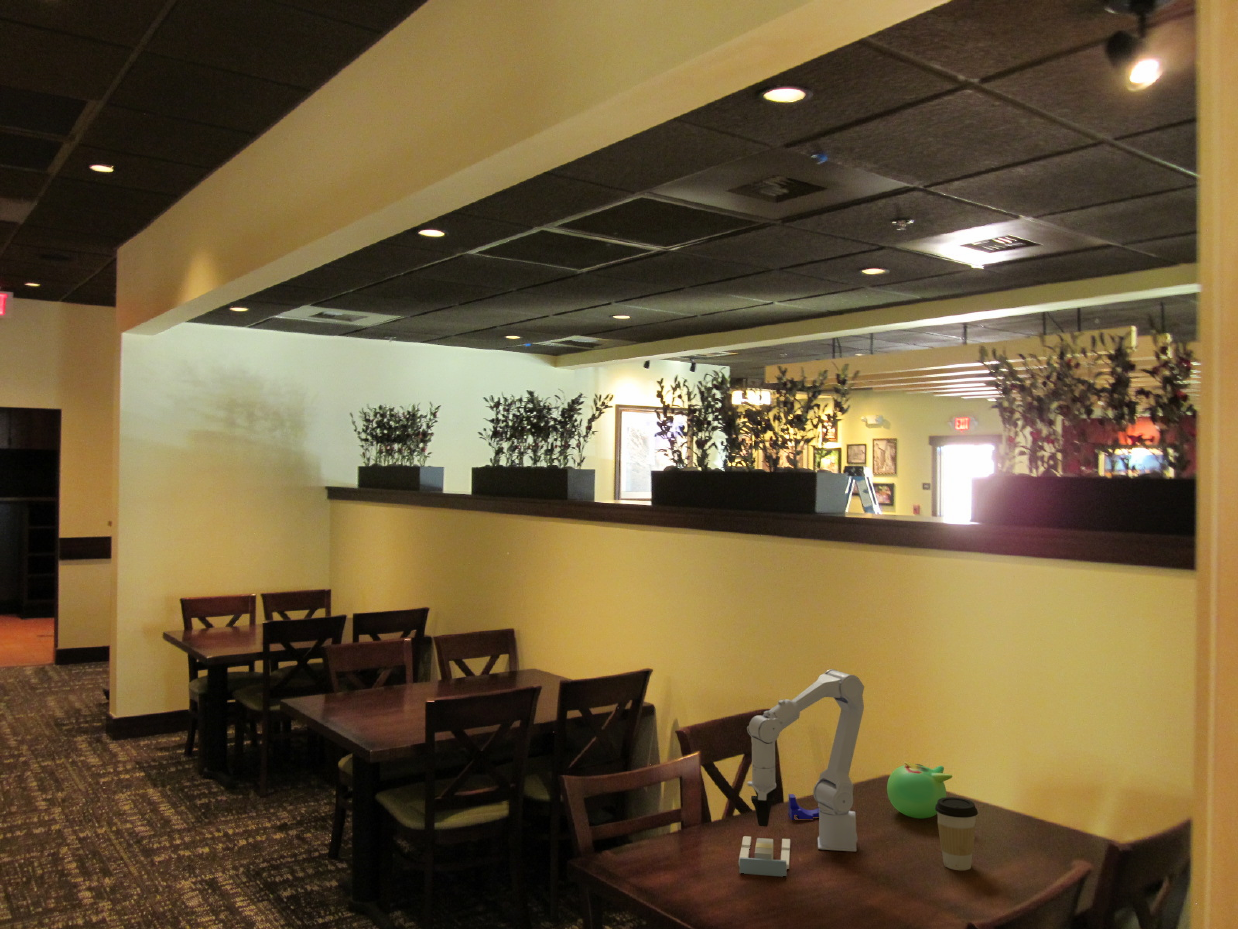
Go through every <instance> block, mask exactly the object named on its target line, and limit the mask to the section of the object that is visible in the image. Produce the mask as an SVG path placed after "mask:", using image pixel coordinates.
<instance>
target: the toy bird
mask: <svg viewBox="0 0 1238 929" xmlns="http://www.w3.org/2000/svg"><path fill="white" fill-rule="evenodd" d="M903 763H904V764H903V765H900V766H899V767H896V768H895V769H894V770H893V771H892V772H891V774H890V775H889V777H888V780H887V786H886V792H887V797H888V800H889V802H890V804H891V805H892V806H893V807H894V809H896V810H897V811H898V812H900V813H901V814H903V815H904V816H906V817H910V818H914V819H928V818H932V817H934V816H936V815H937V811H936V810H935V806H936V804H937V802H938V800H939V799H941V798H945V797H947V789H946V785H945V782H946V781H948V780H950V779H952V778H953V774H950V773H944V771H945V770H944V769H945V767H944V765H938V766H936V767H934V768H930V767H927V766H925V765H923V764H920V763H912V762H909V761H906V760H904V761H903Z"/></svg>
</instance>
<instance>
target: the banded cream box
mask: <svg viewBox="0 0 1238 929" xmlns="http://www.w3.org/2000/svg"><path fill="white" fill-rule="evenodd" d="M754 848H755V849H754V858H758V859H773V860H774V839H773V838H764V837H761V838H760V837H757V838H756V843H755V847H754Z"/></svg>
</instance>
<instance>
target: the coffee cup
mask: <svg viewBox="0 0 1238 929" xmlns="http://www.w3.org/2000/svg"><path fill="white" fill-rule="evenodd" d="M935 810H936V811H937V814H936V815H937V827H938V828H937V830H938V834H939V842H940V849H941V852H942V860H943V865H944V867H946V868H947V869H951V870H954V871H967V870H970V869H971V867H972V860H973V859H972V858H973V854H974V847H975V846H974V844H975V836H976V834H975V833H976V820H977V819H976V818H977V817H976V816H977V815H978V814H979V812H978V808H977V807H976V804H975V803H974V801H971V800H969V799H967V798H961V797H955V796H951V797H950V796H946V797H945V798H941V799H939V800H938V802H937V804H936V806H935Z"/></svg>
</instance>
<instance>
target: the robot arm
mask: <svg viewBox="0 0 1238 929" xmlns="http://www.w3.org/2000/svg"><path fill="white" fill-rule="evenodd" d="M864 689H865V686H864V684H863V682H862V680H861V679H860V678H859V677H858V676H857V675H855V674H849V673H846V672H842V671H840V670H837V669H833V668H832V669H831V668H830V669H828V670H826V671H825V672H824V673H822V674H820V675H819V676H818V678H817V679H816V681H813V683H812V684H811V685H809V686H808V687H807V688H806V689H804V690H803V691H802V692H800V693H799V694H798V695H796V697H794V698H793V699H792V700H791V699H788V698H786V699H779V701H777V704H776V705H775V706H773V707H771V709H768V710H765V711H763V714H762V715H755V716H753V717H752V718H751V719H750V721H749V723H748V724H749V725H748V726H747V727H746V730H747V734H748V735H749V736H750V737H751V738H750V741H751V776H752V777H751V779H752V780H749V781H747V787H752V789H753V790H754V792H755V795H751V797H750V801H751V803H752V804H753V808H754V810H755V813H756V819H757V823H758V826H759V827H768V825H769V820H770V815H771V814H770V813H771V811H772V806H773V804H774V802H775V798H773V796H774V794H775V792H776V790H777V783H776V741H777V740H778V739H779V737H780V733H781V732H782V731H783V730H785V729H786V728H787V727H788V726H790V725H792V724H793V723H794V722H796V721H797V720H799V718H800V714H801V712H802V711H804V710H805V709H807V708H809V707H810V706H812V705H814V704H816V703H817V702H819V701H820V700H822V699H824V698H833V699H834V700H835V702H836V703H837V704H838V706H839V708H840V713H839V717H838V722H837V726H836V731H835V734H834V737H833V738H834V739H833V742H832V747H831V750H830V751H831V752H830V756H829V760H828V764H827V767H826V769H825V770H824V771H822V772H821V773H819V774H820V775H819V778H818V780H817V782H816V784H815V785H814V787H813V789H812V790H813V792H812V794H813V797H814V798H813V799H814V800H815V802H817V808H819V819H818V832H819V835H818V836H817V849H818V850H825V851H840V852H841V851H843V852H857V842H858V834H857V820H856V819H857V818H856V811H854V810H851V809H852V807H853V804H854V796H853V791H854V784H853V782H852V780H851V777H850V772H851V771H850V770H851V767H852V762H853V758H854V752H855V748H856V744H857V740H858V736H859V731H860V727H861V722H862V718H863V715H864V711H865V710H864V708H865V705H864V704H865V703H864V697H863V694H864V691H865V690H864Z"/></svg>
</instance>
